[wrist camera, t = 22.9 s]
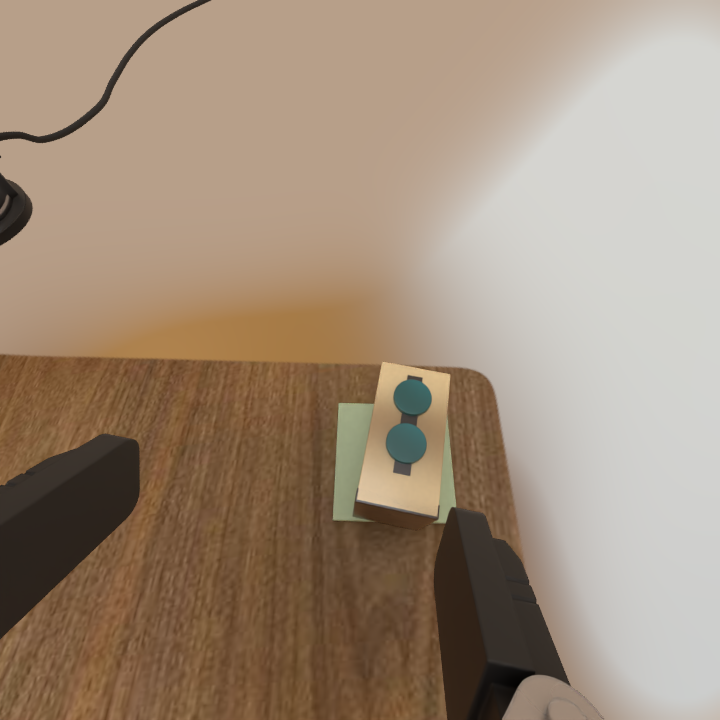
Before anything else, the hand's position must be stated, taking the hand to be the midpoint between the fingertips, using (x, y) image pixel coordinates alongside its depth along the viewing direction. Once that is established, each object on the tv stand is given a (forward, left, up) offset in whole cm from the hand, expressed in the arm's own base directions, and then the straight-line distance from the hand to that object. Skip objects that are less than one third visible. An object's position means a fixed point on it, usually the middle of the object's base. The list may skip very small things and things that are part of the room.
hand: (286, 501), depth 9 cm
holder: (-7, +3, -19) cm, 20 cm away
